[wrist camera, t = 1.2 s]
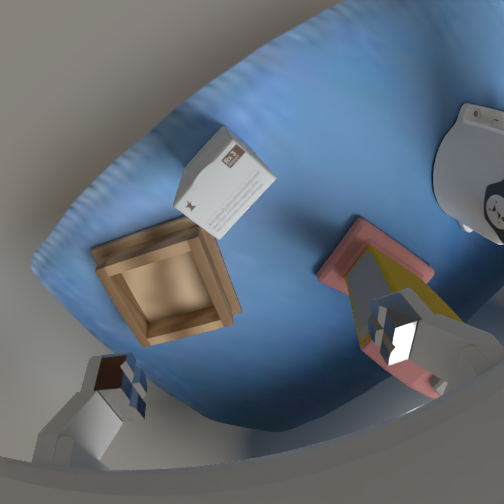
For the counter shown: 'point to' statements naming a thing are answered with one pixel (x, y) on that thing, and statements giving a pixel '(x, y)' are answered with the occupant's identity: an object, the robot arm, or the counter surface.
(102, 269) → the wooden tray
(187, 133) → the counter surface
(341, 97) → the counter surface
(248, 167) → the skincare box
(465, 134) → the robot arm
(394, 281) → the pink blocky piece
